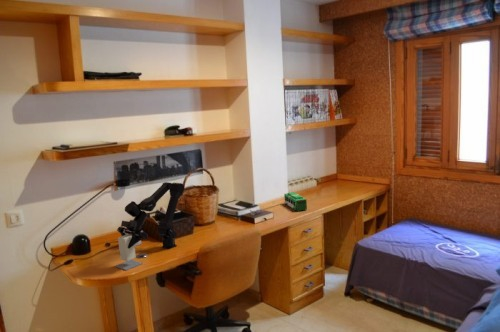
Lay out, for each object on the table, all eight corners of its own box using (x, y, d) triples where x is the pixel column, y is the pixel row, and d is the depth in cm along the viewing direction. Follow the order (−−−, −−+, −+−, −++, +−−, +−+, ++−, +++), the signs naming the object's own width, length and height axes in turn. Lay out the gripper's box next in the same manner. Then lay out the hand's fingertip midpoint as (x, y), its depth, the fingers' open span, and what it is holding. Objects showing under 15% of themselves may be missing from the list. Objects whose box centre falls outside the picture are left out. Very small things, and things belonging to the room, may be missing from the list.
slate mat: (131, 260, 222) (131, 259, 222) (142, 264, 215) (142, 263, 215) (115, 266, 214) (115, 265, 214) (126, 270, 208) (126, 269, 208)
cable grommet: (143, 253, 231) (143, 252, 231) (149, 255, 227) (149, 254, 227) (134, 256, 227) (134, 256, 227) (140, 258, 223) (140, 258, 223)
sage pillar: (128, 255, 218) (126, 234, 216) (135, 257, 215) (133, 235, 213) (120, 259, 214) (117, 237, 212) (127, 261, 211) (124, 239, 209)
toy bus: (298, 202, 322) (297, 190, 321) (307, 211, 296) (306, 198, 294) (284, 204, 321) (283, 191, 319) (292, 212, 295) (291, 199, 293)
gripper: (117, 212, 219) (102, 238, 212) (141, 215, 209) (126, 243, 201) (130, 222, 227) (117, 247, 220) (154, 225, 216) (140, 252, 209)
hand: (124, 247), depth 212 cm, fingers closed on sage pillar, 5 cm apart
